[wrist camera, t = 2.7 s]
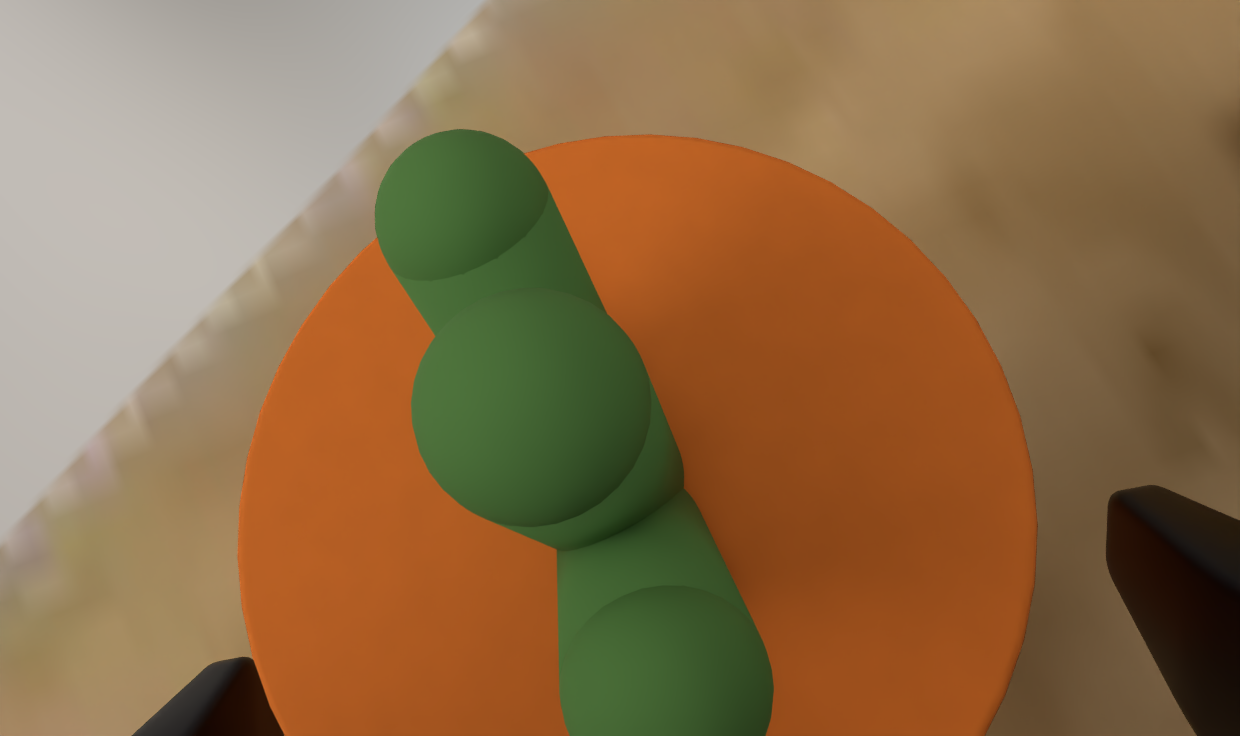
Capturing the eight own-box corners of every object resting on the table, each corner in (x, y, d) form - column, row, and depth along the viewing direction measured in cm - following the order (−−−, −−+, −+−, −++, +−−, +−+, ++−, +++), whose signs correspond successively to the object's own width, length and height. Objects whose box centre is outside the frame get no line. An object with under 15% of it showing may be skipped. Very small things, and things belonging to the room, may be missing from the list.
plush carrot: (908, 659, 17) (1735, 799, 3) (630, 789, 17) (-22, 1612, 3) (768, 393, 19) (812, -366, 4) (518, 510, 19) (-218, 126, 5)
